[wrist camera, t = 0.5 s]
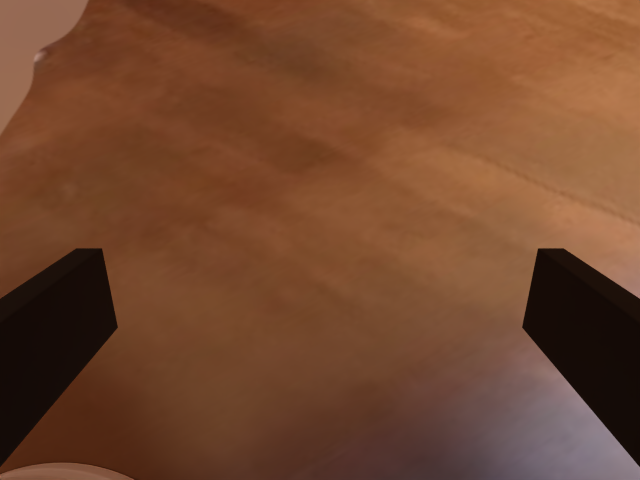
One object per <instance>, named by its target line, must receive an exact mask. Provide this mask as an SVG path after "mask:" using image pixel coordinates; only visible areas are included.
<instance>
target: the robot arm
mask: <svg viewBox="0 0 640 480" xmlns="http://www.w3.org/2000/svg"><path fill="white" fill-rule="evenodd" d="M117 328H118V326H117V321H116V316H115V311H114V306H113V301H112V296H111V291H110V286H109V281H108V276H107V271H106V266H105V261H104V256H103V252H102V249H75V250H73V251H72V252H70V253H69V254H67V255H66V256H64V257H63V258H61V259H60V260H58V261H57V262H55V263H54V264H52V265H51V266H49V267H48V268H46V269H45V270H43V271H42V272H40V273H39V274H37V275H36V276H34V277H33V278H31V279H30V280H28V281H26V282H25V283H23V284H22V285H20V286H19V287H17V288H16V289H14V290H13V291H11V292H10V293H8V294H7V295H5V296H4V297H2V298H1V299H0V467H1V465H2V464H3V463H4V462H5V461H6V459H7V458H8V457H9V456H10V455H11V454H12V452H13V451H14V450H15V449H16V448H17V446H18V445H19V444H20V443H21V442H22V440H23V439H24V438H25V437H26V436H27V435H28V433H29V432H30V431H31V430H32V429H33V427H34V426H35V425H36V424H37V423H38V421H39V420H40V419H41V418H42V417H43V416H44V414H45V413H46V412H47V411H48V410H49V408H50V407H51V406H52V405H53V404H54V403H55V401H56V400H57V399H58V398H59V397H60V395H61V394H62V393H63V392H64V391H65V389H66V388H67V387H68V386H69V385H70V384H71V382H72V381H73V380H74V379H75V378H76V376H77V375H78V374H79V373H80V372H81V371H82V369H83V368H84V367H85V366H86V365H87V363H88V362H89V361H90V360H91V359H92V357H93V356H94V355H95V354H96V353H97V352H98V350H99V349H100V348H101V347H102V346H103V344H104V343H105V342H106V341H107V340H108V338H109V337H110V336H111V335H112V334H113V333H114V331H115V330H116V329H117ZM522 328H523V329H524V330H525V331H526V333H527V334H528V335H529V336H530V337H531V338H532V340H533V341H534V342H535V343H536V344H537V346H538V347H539V348H540V349H541V350H542V352H543V353H544V354H545V355H546V356H547V357H548V359H549V360H550V361H551V362H552V363H553V365H554V366H555V367H556V368H557V369H558V371H559V372H560V373H561V374H562V375H563V376H564V378H565V379H566V380H567V381H568V382H569V384H570V385H571V386H572V387H573V388H574V389H575V391H576V392H577V393H578V394H579V395H580V397H581V398H582V399H583V400H584V401H585V403H586V404H587V405H588V406H589V407H590V408H591V410H592V411H593V412H594V413H595V414H596V416H597V417H598V418H599V419H600V420H601V422H602V423H603V424H604V425H605V426H606V427H607V429H608V430H609V431H610V432H611V433H612V435H613V436H614V437H615V438H616V439H617V440H618V442H619V443H620V444H621V445H622V446H623V448H624V449H625V450H626V451H627V452H628V454H629V455H630V456H631V457H632V458H633V459H634V461H635V462H636V463H637V464H638V465H639V467H640V299H639V298H638V297H636V296H635V295H633V294H632V293H630V292H629V291H627V290H626V289H624V288H623V287H621V286H620V285H618V284H617V283H615V282H614V281H612V280H610V279H609V278H607V277H606V276H604V275H603V274H601V273H600V272H598V271H597V270H595V269H594V268H592V267H591V266H589V265H588V264H586V263H585V262H583V261H582V260H580V259H579V258H577V257H576V256H574V255H573V254H571V253H570V252H568V251H567V250H565V249H538V252H537V256H536V261H535V266H534V271H533V276H532V281H531V286H530V291H529V296H528V301H527V306H526V311H525V316H524V321H523V326H522Z"/></svg>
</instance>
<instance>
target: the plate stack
mask: <svg viewBox="0 0 640 480" xmlns="http://www.w3.org/2000/svg"><path fill="white" fill-rule="evenodd" d="M0 480H134V479H132V478H130V477H128V476H125V475H123V474H120V473H118V472H115V471H112V470H109V469H105V468H101V467H97V466H92V465H87V464H79V463H45V464H37V465H31V466H26V467H22V468H18V469H14V470H11V471H8V472H5V473H2V474H0Z"/></svg>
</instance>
